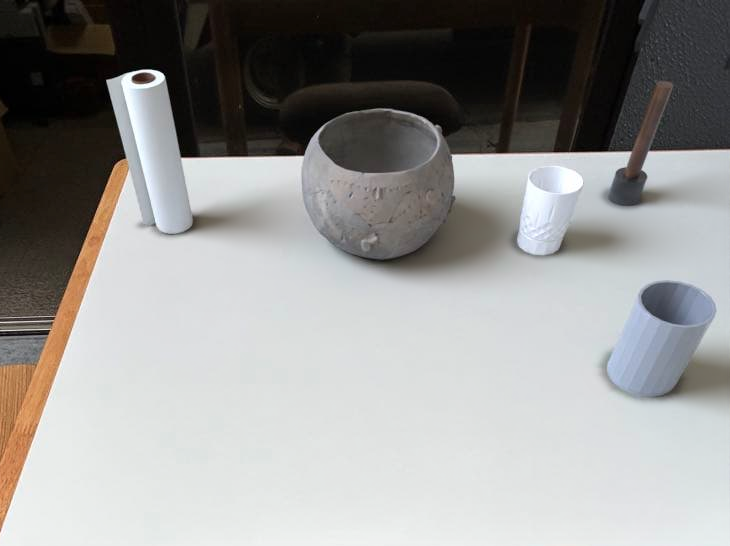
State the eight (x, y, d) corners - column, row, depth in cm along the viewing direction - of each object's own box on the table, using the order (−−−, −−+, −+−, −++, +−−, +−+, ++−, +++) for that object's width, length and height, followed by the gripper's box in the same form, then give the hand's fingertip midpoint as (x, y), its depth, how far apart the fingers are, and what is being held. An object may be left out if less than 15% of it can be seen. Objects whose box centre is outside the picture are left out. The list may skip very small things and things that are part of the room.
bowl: (278, 255, 102) (269, 155, 90) (340, 185, 114) (340, 87, 101) (414, 293, 97) (425, 192, 84) (466, 214, 108) (482, 115, 95)
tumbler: (682, 365, 87) (723, 293, 78) (666, 406, 83) (707, 336, 74) (617, 344, 89) (649, 272, 80) (598, 383, 85) (629, 312, 76)
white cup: (518, 225, 106) (534, 161, 97) (567, 235, 104) (587, 170, 96) (508, 252, 102) (523, 188, 93) (559, 262, 100) (578, 198, 92)
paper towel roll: (200, 221, 108) (173, 73, 90) (176, 239, 105) (143, 90, 88) (168, 208, 110) (135, 62, 93) (144, 225, 108) (105, 78, 90)
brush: (641, 195, 110) (686, 81, 96) (633, 210, 108) (678, 94, 93) (612, 188, 111) (651, 74, 97) (603, 202, 109) (643, 87, 95)
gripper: (837, -75, 94) (761, 84, 100) (662, -96, 101) (600, 53, 107) (857, -116, 87) (775, 57, 93) (667, -136, 94) (601, 25, 100)
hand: (681, 55), depth 100 cm, fingers open, 13 cm apart
